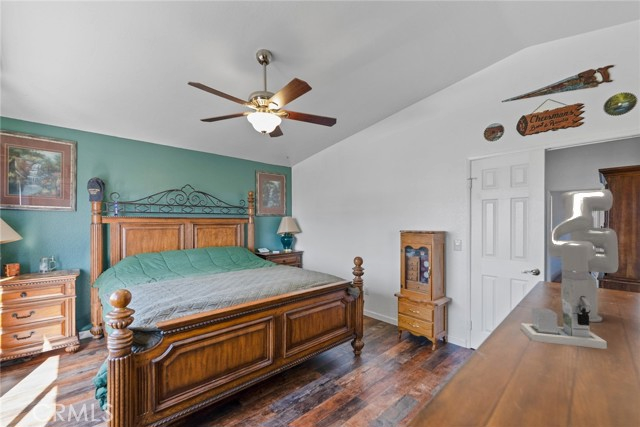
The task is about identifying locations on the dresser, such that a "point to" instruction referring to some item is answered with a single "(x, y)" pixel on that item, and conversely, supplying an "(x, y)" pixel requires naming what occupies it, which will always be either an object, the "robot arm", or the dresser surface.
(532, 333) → the pallet
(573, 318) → the syrup box
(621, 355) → the dresser surface
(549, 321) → the metal block
